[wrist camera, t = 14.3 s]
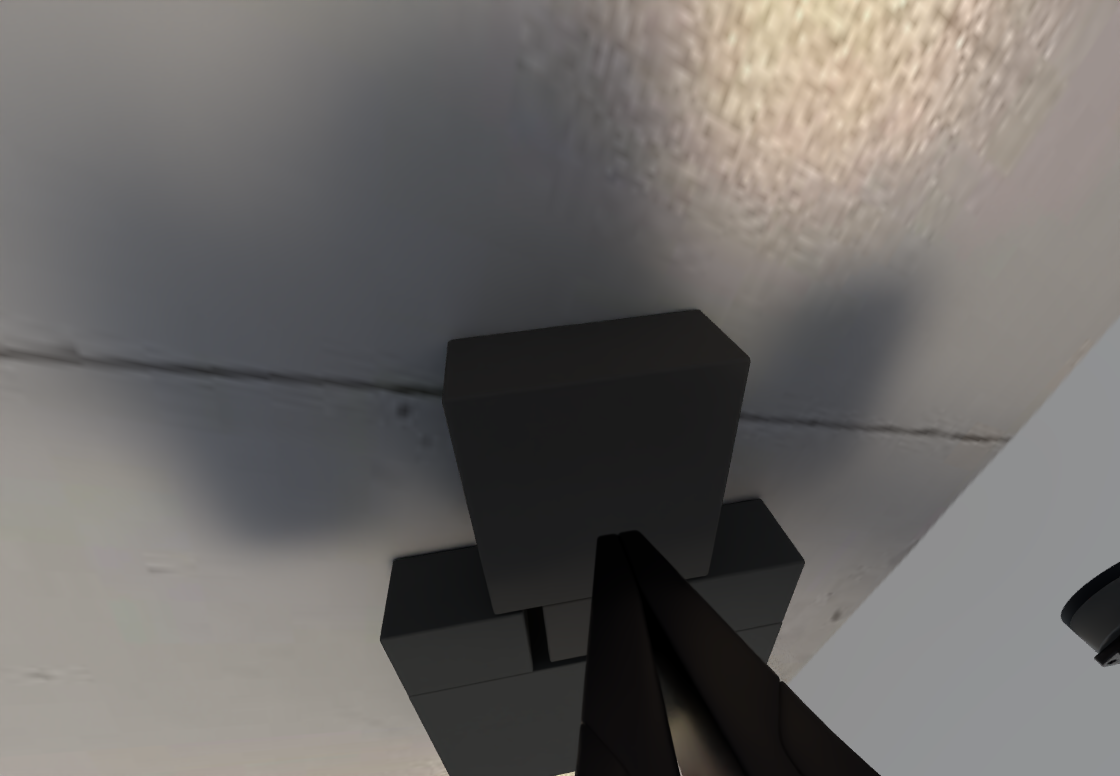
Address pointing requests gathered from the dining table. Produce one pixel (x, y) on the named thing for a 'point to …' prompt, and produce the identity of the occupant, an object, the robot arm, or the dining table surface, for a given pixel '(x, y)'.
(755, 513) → the base pad
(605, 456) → the pad
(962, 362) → the dining table surface
